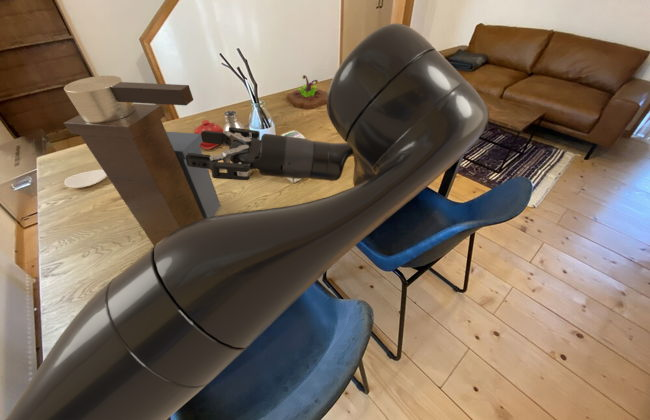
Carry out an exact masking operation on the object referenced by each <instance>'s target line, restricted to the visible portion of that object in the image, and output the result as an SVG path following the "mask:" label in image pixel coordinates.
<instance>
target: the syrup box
mask: <svg viewBox="0 0 650 420" xmlns="http://www.w3.org/2000/svg"><path fill="white" fill-rule="evenodd" d="M280 135H281V136H289V137H297V138H303V139H306V136H305V135H303V134H302V133H300V132H299V131H298V130H295V129H293V130H290V131H288V132H287V131H286V132H284V133H282V134H280ZM286 179H287V180H288V181H289V182H290V183H292V184H295V183H297V182H300V181H301V180H303V179H295V178H286Z"/></svg>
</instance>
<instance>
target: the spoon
mask: <svg viewBox="0 0 650 420" xmlns="http://www.w3.org/2000/svg"><path fill="white" fill-rule="evenodd" d="M106 178H108V176H107V175H106V173H105V172H104V170H103V169H102V168H100V169H93V170H89V171H84V172H80V173H77V174H73V175H70V176H68V177H66V178H65V180H64V181H63V184H64V186H65V187H66V188H70V189H80V188H81V189H83V188H86V187H87V188H88V187H90V186H94V185H97V184H98V183H100V182H102V181H103V180H105V179H106Z"/></svg>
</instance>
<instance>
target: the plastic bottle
mask: <svg viewBox="0 0 650 420" xmlns="http://www.w3.org/2000/svg"><path fill="white" fill-rule="evenodd" d="M223 117H224V121H225V123H224V126H223V127H222V129H223V131H229V127H234V128H241V129H246V128H245V126H244V125H243V123H242V122H240V120H239V116H238V112H237V111H236V110H228V111H225V112H224V113H223ZM238 134H240V133H238ZM240 135H241V134H240ZM229 148H230V147H229ZM229 148H228V149H229ZM254 170H255V169H251V170H250V175H251V174H252V173H253V172H254Z"/></svg>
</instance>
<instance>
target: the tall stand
mask: <svg viewBox="0 0 650 420" xmlns="http://www.w3.org/2000/svg"><path fill="white" fill-rule="evenodd" d="M133 104H134V106H135V111H134V112H133V113H132V114H130V115H128V116H126V117H124V118H121V119H118V120H115V121H110V122H104V123H89V122H85V121H84V120H83V119H82V117H81V116H80V114H78V115H76V116H74V117H72V118H70V119H69V120H66V121H64V122H63V124H64V125H65V127H66V129H67V131H68V132H69V133H70V134H71V135H79V136H80V137H81V140H83V142H84V144H85V145H86V146H87V148H88V150H89V151H90V152H91V154H92V155H93V157H94V158H95V160H96V162H97V163H98V164H99V166H100V167H101V169H103V170H104V172H105V173H106V175H107V179H109V181H110V182H111V185H113V187H114V188H115V190H116V192H117V193H118V195H119V196H120V198H121V199H122V201H123V202H124V204H125V205H126V207H127V209H128V210H129V211H130V213H131V214H132V216H133V217H134V218H135V220H136V221H137V223H138V225H139V227H141V229H142V231H143V232H144V233H145V235H146V236H147V238H148V240H149V241H150V242H151V244H152V246H155V245H156V244H157V243H158V242H160V241H161V240H162V239H164V238H165V237H166V236H168V235H169V234H170V233H172V232H173V231H175V230H177V229H178V228H180V227H182V226H184V225H187V224H189V223H192V222H194V221H198V220H201V219H203V216H202V214H201V212H200V209H199V207H198V205H197V202H196V200H195V198H194V195H193V193H192V191H191V188H190V186H189V184H188V182H187V179H186V177H185V175H184V172H183V170H182V168H181V165H180V163H179V161H178V158H177V156H176V154H175V151H174V149H173V147H172V144H171V142H170V140H169V137H168V135H167V133H166V132H167V131H166V128H165V126H164V124H163V121H162V119H164V117H166V113H165V110H164V107H163V106H162V105H163V104H148V103H133Z"/></svg>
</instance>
